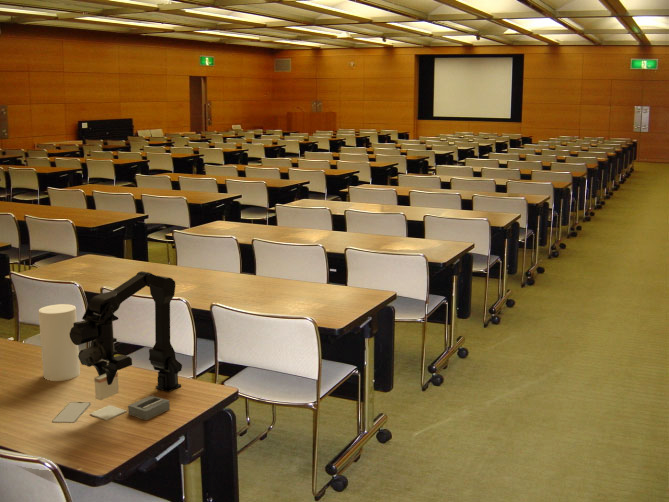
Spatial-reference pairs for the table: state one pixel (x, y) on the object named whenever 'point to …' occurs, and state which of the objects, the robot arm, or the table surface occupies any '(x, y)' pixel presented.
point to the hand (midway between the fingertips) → (106, 383)
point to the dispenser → (148, 407)
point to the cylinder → (58, 342)
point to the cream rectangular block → (105, 387)
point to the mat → (108, 412)
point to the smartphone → (71, 412)
